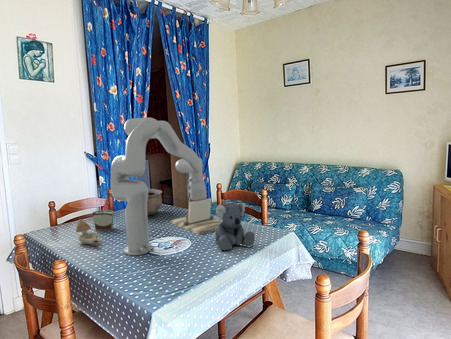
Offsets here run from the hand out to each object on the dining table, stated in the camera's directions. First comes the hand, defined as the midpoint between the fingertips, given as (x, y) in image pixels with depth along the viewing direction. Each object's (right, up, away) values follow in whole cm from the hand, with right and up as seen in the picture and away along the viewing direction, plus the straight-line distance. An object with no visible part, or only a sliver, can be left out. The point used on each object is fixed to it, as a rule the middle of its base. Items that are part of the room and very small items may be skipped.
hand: (198, 211), depth 178 cm
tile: (+1, +1, -2) cm, 2 cm away
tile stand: (+1, -7, -1) cm, 7 cm away
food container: (-51, -9, -3) cm, 52 cm away
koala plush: (+18, -11, -32) cm, 39 cm away
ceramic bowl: (-36, -6, +24) cm, 44 cm away
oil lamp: (-51, -12, -26) cm, 58 cm away
